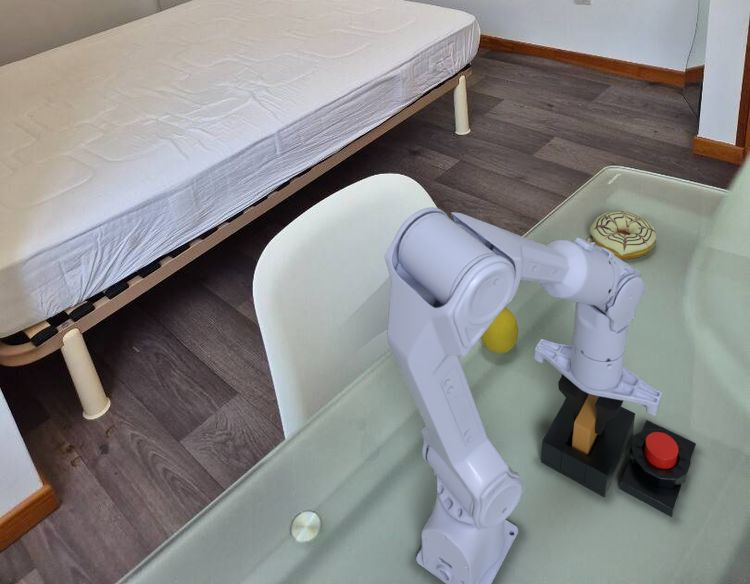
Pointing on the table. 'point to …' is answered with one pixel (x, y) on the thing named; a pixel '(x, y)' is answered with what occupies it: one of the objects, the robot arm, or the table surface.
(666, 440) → the button
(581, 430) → the toast
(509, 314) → the lemon
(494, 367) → the table surface
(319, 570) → the table surface
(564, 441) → the toaster
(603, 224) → the decorated donut
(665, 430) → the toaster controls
